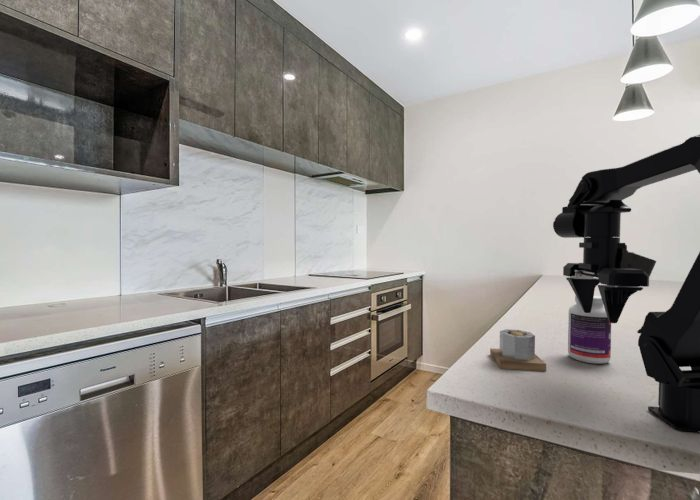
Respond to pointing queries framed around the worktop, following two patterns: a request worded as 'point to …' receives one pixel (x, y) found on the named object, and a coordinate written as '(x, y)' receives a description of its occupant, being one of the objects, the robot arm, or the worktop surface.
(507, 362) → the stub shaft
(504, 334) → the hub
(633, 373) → the worktop surface
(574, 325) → the pill bottle
